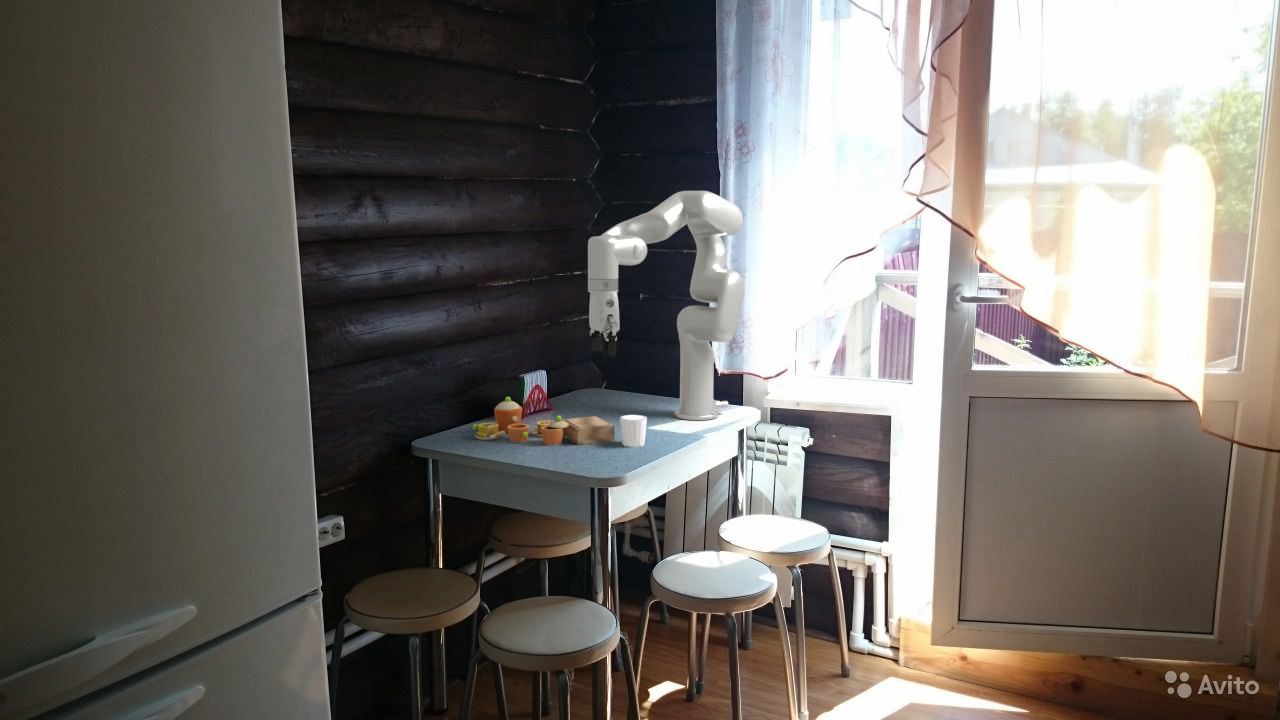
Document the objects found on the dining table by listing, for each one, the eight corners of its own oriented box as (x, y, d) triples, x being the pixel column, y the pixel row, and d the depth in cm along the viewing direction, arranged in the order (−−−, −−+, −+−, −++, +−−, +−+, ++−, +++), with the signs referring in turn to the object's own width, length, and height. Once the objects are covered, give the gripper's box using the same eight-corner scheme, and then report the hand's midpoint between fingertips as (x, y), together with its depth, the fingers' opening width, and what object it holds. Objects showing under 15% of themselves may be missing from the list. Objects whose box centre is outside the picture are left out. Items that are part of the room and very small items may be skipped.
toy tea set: (466, 440, 236) (465, 403, 234) (496, 427, 250) (495, 392, 249) (558, 449, 227) (558, 411, 225) (583, 435, 241) (583, 399, 240)
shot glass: (649, 441, 234) (649, 414, 232) (644, 448, 227) (644, 420, 226) (622, 440, 235) (622, 413, 234) (617, 447, 228) (617, 419, 227)
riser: (596, 431, 245) (596, 415, 244) (614, 440, 234) (614, 424, 233) (561, 434, 240) (561, 418, 240) (578, 445, 230) (577, 428, 229)
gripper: (630, 288, 222) (629, 358, 225) (604, 283, 238) (604, 348, 241) (601, 289, 219) (601, 359, 222) (577, 284, 235) (577, 350, 238)
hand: (603, 353), depth 231 cm, fingers open, 9 cm apart
